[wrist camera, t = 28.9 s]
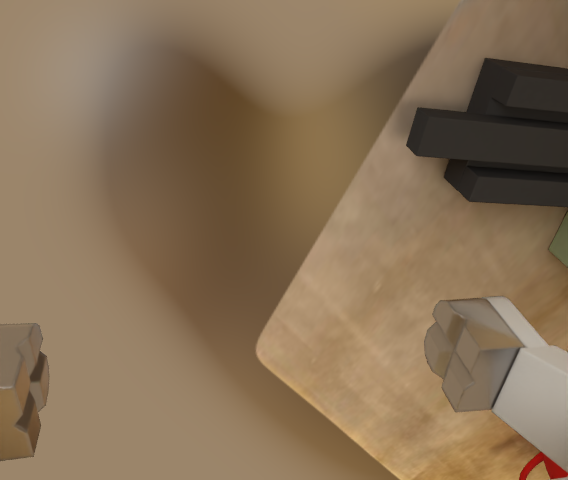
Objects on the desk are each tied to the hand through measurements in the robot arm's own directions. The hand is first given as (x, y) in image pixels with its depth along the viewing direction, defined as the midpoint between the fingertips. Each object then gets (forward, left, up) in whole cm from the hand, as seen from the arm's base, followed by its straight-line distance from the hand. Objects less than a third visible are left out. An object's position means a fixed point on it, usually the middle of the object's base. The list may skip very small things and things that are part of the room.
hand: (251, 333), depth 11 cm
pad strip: (+4, +28, -27) cm, 39 cm away
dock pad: (+4, +29, -29) cm, 41 cm away
